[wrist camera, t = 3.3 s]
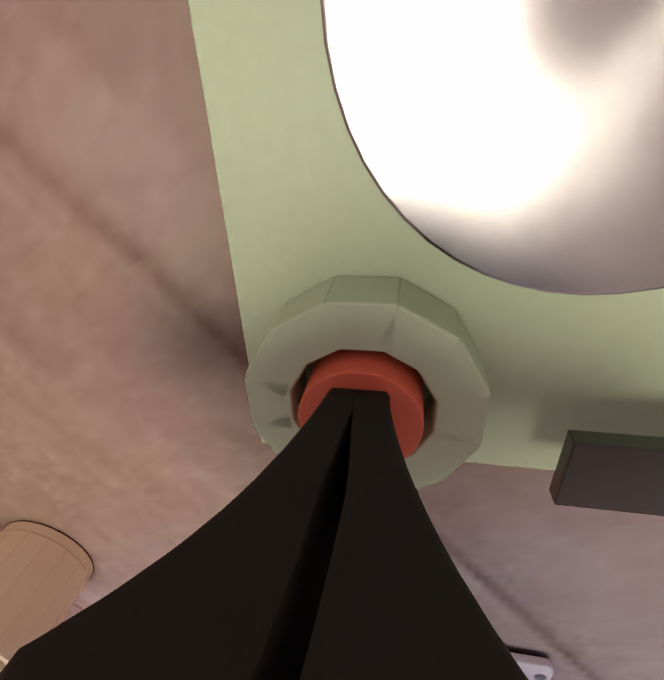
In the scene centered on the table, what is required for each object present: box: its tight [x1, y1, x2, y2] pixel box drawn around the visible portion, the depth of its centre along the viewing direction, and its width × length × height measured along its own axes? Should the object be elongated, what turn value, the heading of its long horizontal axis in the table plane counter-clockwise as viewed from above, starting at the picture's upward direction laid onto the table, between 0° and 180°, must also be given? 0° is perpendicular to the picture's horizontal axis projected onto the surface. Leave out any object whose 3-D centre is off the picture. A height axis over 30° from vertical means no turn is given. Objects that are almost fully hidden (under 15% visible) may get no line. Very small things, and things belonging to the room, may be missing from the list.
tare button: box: [298, 349, 424, 459], centre depth 11 cm, size 3×3×2 cm
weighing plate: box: [320, 0, 664, 516], centre depth 7 cm, size 14×10×1 cm
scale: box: [188, 0, 664, 489], centre depth 9 cm, size 16×13×3 cm
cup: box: [0, 521, 93, 672], centre depth 21 cm, size 5×5×5 cm
